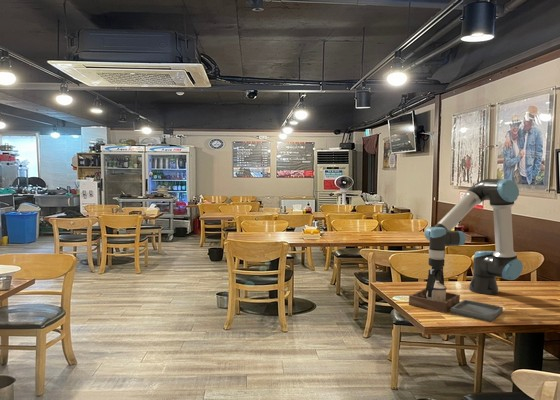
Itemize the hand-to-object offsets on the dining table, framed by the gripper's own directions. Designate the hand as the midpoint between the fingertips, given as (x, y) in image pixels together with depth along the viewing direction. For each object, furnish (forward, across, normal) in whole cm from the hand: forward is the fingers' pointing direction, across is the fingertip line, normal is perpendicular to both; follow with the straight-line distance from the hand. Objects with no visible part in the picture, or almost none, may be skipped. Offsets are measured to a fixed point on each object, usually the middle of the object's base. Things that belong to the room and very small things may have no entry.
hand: (434, 300), depth 217 cm
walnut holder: (+2, 0, 0) cm, 2 cm away
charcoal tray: (+2, -1, +20) cm, 20 cm away
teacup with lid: (+2, 0, 0) cm, 2 cm away
